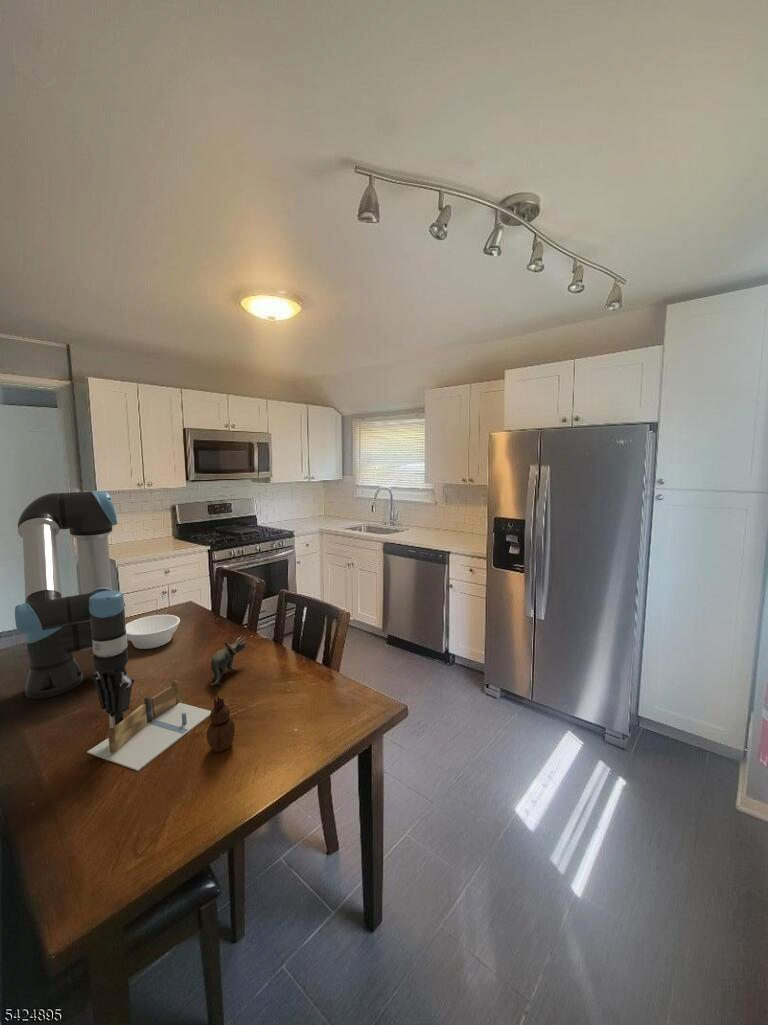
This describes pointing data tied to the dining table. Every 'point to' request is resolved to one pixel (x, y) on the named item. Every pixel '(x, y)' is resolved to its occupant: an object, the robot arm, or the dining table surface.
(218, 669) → the dinosaur figurine
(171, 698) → the fence fixed
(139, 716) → the fence panel
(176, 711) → the card
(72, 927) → the dining table surface
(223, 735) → the wooden figurine
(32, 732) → the dining table surface
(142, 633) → the bowl
